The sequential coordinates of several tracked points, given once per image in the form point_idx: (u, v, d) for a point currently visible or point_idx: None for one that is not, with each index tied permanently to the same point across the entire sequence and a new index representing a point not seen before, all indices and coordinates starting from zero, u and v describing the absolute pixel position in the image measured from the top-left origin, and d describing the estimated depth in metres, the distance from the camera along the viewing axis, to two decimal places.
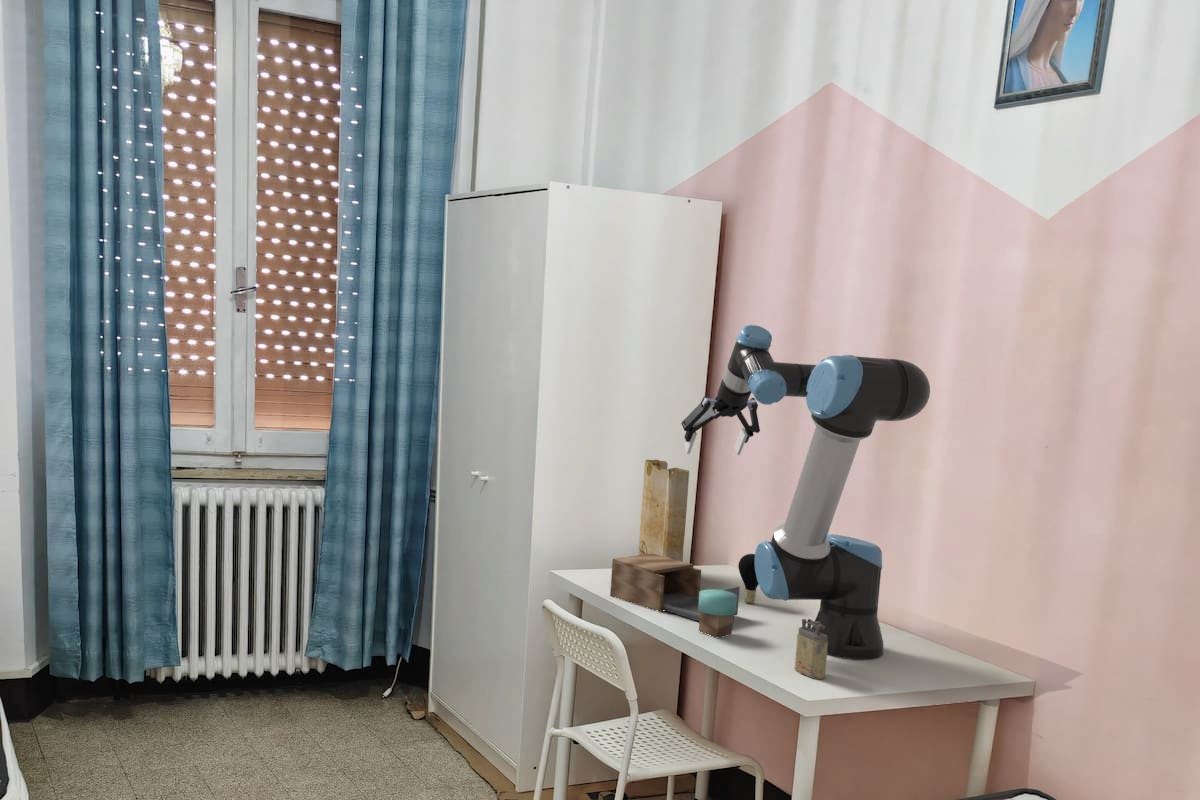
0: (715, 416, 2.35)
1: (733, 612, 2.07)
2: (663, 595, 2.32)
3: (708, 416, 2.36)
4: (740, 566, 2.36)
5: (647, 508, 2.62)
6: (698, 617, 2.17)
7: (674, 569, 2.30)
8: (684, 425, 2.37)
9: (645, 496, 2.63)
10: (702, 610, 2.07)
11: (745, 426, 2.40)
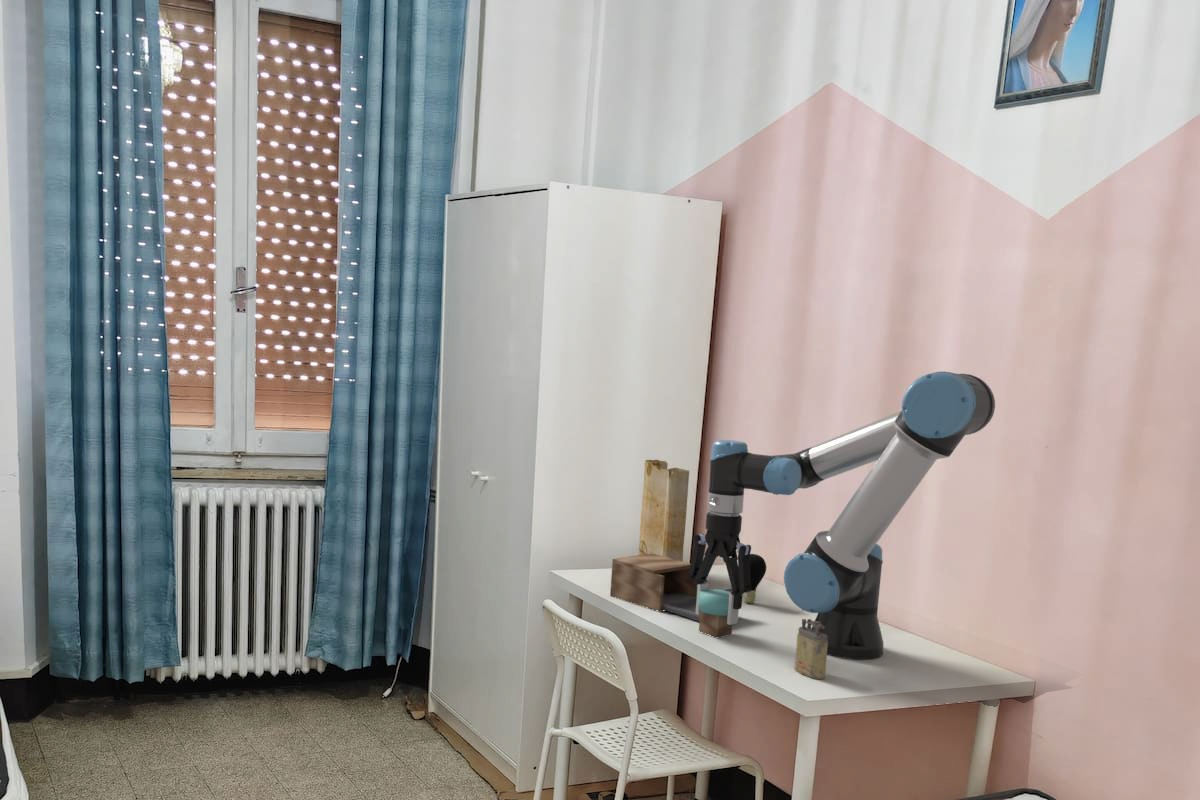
0: None
1: None
2: (663, 595, 2.32)
3: (736, 564, 2.06)
4: None
5: (647, 508, 2.62)
6: (698, 617, 2.17)
7: (674, 569, 2.30)
8: (748, 588, 2.04)
9: (645, 496, 2.63)
10: (702, 610, 2.07)
11: None
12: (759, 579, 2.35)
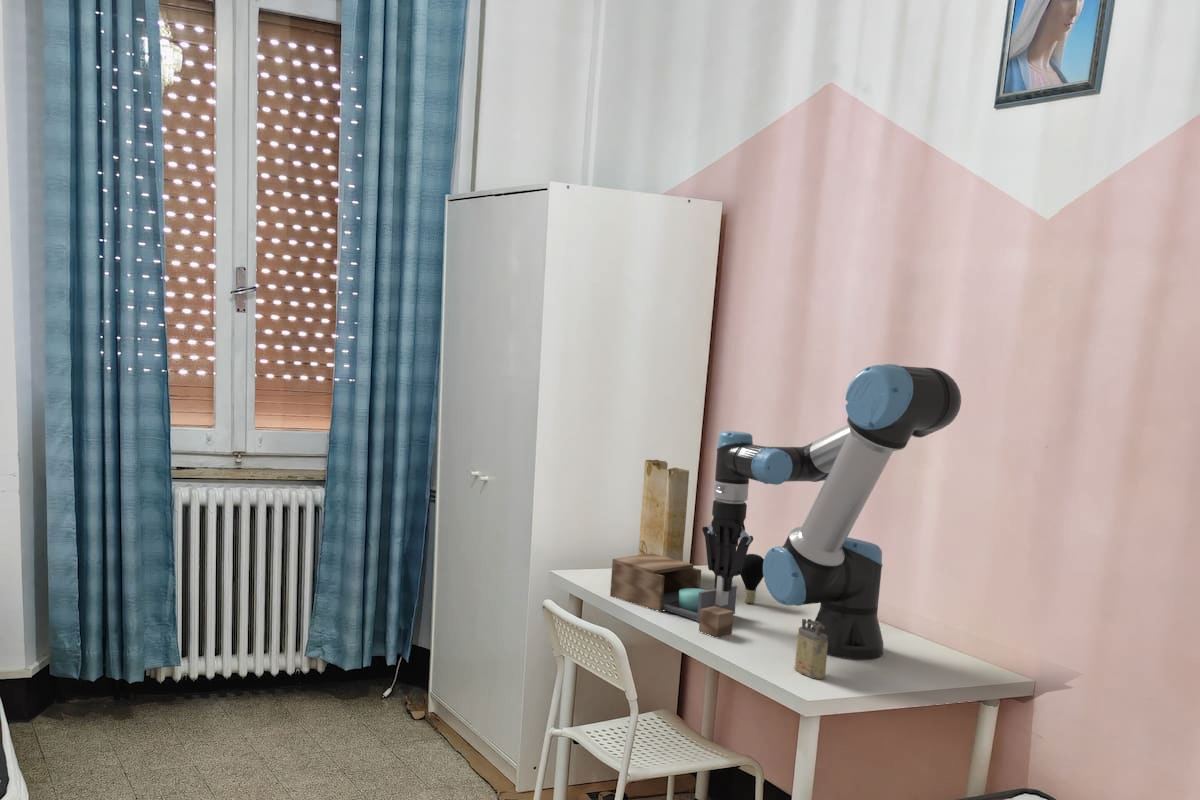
0: None
1: None
2: None
3: (734, 551, 2.18)
4: None
5: (647, 508, 2.62)
6: (695, 616, 2.17)
7: (674, 569, 2.30)
8: (738, 573, 2.17)
9: (645, 496, 2.63)
10: None
11: None
12: (759, 579, 2.35)
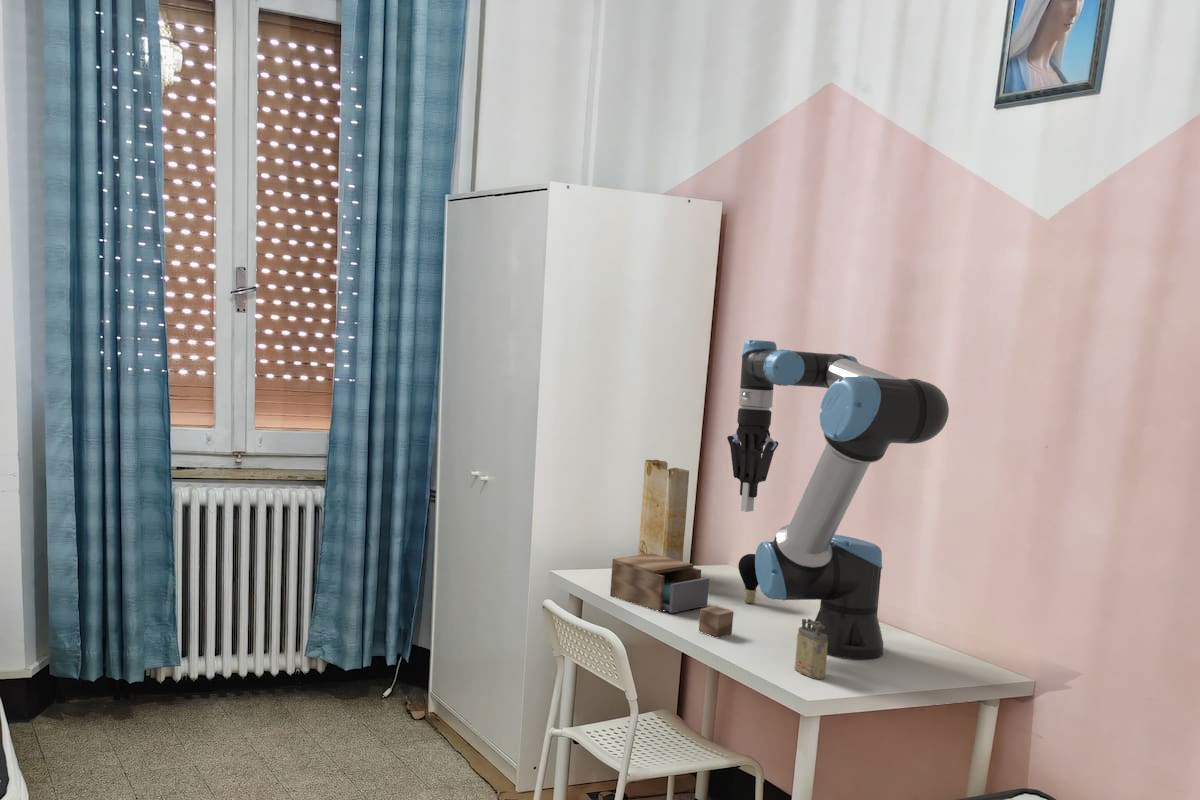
0: None
1: None
2: None
3: (759, 457, 2.22)
4: (740, 566, 2.36)
5: (647, 508, 2.62)
6: (668, 607, 2.23)
7: (674, 569, 2.30)
8: (763, 478, 2.21)
9: (645, 496, 2.63)
10: None
11: None
12: None
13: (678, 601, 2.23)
